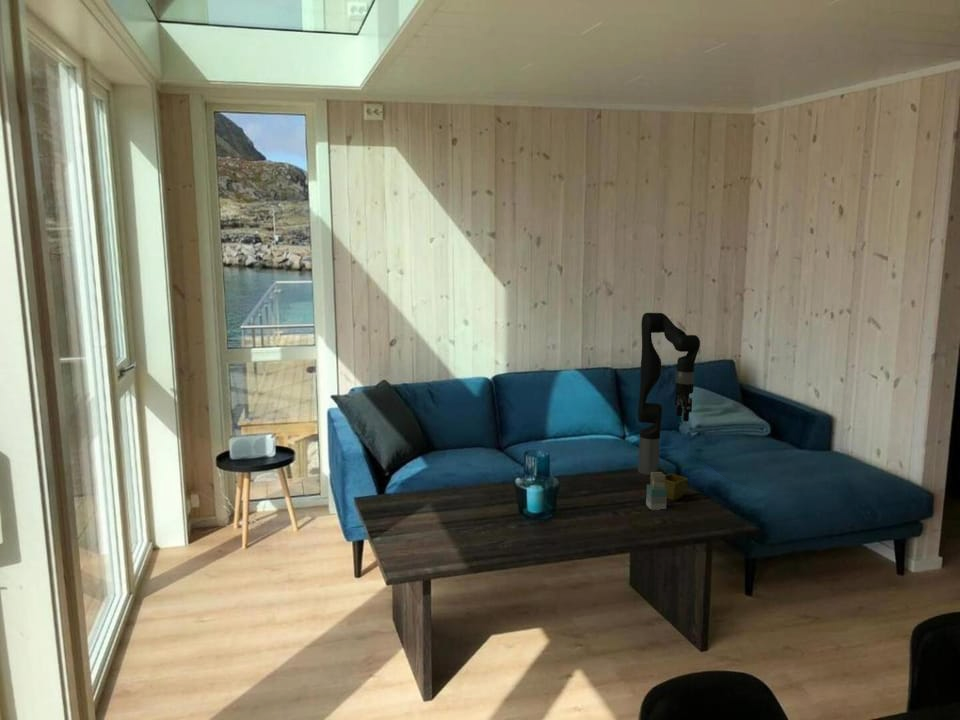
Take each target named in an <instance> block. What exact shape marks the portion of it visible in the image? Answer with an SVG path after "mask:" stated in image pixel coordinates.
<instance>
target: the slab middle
mask: <svg viewBox="0 0 960 720" xmlns="http://www.w3.org/2000/svg"><path fill="white" fill-rule="evenodd" d="M646 498H647V499H648V501H649V502H650V503H651V504H663V503H666V504H667V503H668V502H667V500H668V498H667V496H664V497H651V496H650V495H649V494H648V492H647V491H646Z"/></svg>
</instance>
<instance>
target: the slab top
mask: <svg viewBox="0 0 960 720" xmlns="http://www.w3.org/2000/svg"><path fill="white" fill-rule="evenodd" d="M647 492H648V494H649V495H650V496H651V497H664V496H667V489H666V488H665V489H653V487H652V486H651V485H650V484H646V493H647Z"/></svg>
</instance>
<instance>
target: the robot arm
mask: <svg viewBox="0 0 960 720" xmlns="http://www.w3.org/2000/svg"><path fill="white" fill-rule="evenodd" d="M654 333H656V334H659V333H663V335H664V338H665V339H666V340H667V341H668V342H669V343H671V344H672V346H673V348H674V350H676V351H677V352H680V353H682V352H683V353H684V352H685V353H686V355H684V356H680V357H678V358H677V362H676V363H677V365H676V373H675V386H674V387H675V388H674V392H675V398H674V399H675V400H674V401H675V402H674V405H675V407H676V417H683V418H682V420H683V422H689V420H690V413H692V411H693V410H692V409H693V398H692V397H690V394H693V393H694V386H695V361H696V360H697V355H698V353H699V350H700V347H701V340H700V337H699V336H698V335H695V334H687V333H686V332H685V331H684V330H682V329H681V328H680V327H677V326H676V325H675V324H674V323H673V322H672V320H671V319H670V318H669V317H668V316H667V315H666V314H664V313H662V312H645V313H643V315H642V317H641V357H640V358H641V359H640V375H639V376H640V383H639V385H640V387H639V398H638V406H637V407H638V408H637V420H638V422H639V423H642V424H643V423H644V424H647V423H648V424H652V425H651V426H648V427H645V428H642V429H641V430H640V432H639V445H638V447H639V448H638V449H639V450H638V464H637V465H638V467H637V472H638V473H639V474H641V475H647V476H651V472H659V460H660V446H661V445H660V442H661V441H660V440H661V426H662V425H661V423H662V416H663V407H662V405H661V403H656V402H655V403H652V402H651V403H650V402H647V398H648V396H649V394H650V393H651V391H652V389H653V388H654V386H655V385H656V383H658V381H659V379H660V378H661V372H662V359H661V357H660V355H659V354H658V352H657V350H656V349H655V346H654V343H653V340H652V339H653V338H652V334H654Z"/></svg>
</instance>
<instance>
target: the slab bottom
mask: <svg viewBox="0 0 960 720" xmlns="http://www.w3.org/2000/svg"><path fill="white" fill-rule="evenodd" d="M645 504H646V505H645V506H647V508H648V509H651V511H659V510H660V509H666V510H667V503H663V504H651V503H650V502H649V501H648V499H647V497H646V501H645Z"/></svg>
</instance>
